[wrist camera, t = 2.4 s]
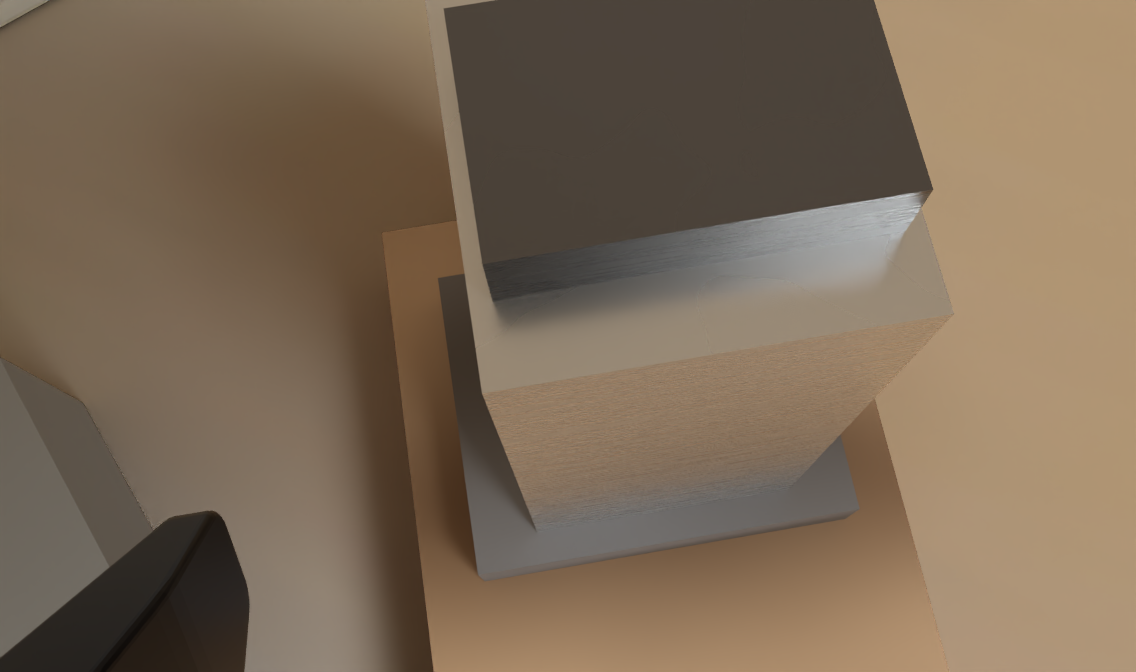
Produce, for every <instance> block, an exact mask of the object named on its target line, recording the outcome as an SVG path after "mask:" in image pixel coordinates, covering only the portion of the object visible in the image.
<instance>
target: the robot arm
mask: <svg viewBox="0 0 1136 672" xmlns="http://www.w3.org/2000/svg"><path fill="white" fill-rule="evenodd" d="M248 621H249V594H248V588H247V584H246V580H245V578H244V575H243V572H242V569H241V566H240V563H239V561H238V558H237V555H236V552H235V549H234V546H233V544H232V541H231V538H230V535H229V532H228V530H227V527H226V524H225V522H224V520H223V519H222V517H221V516H220V515H219V514H218V513H216V512H214V511H203V512H197V513H192V514H186V515H180V516H174V517H171V518H169V519H167V520H166V521H165V522H163V523H162V524H161V525H160V526H159V527H157V528H156V529H155V530H154V531H153V532H151V533H150V534H149V535H148V536H146V537H145V538H144V539H143V540H142V541H140V542H139V543H138V544H137V545H136V546H134V547H133V548H132V549H131V550H130V551H128V552H127V553H126V554H125V555H124V556H122V557H121V558H120V559H119V560H117V561H116V562H115V563H114V564H113V565H111V566H110V567H109V568H108V569H107V570H105V571H104V572H103V573H102V574H101V575H99V576H98V577H97V578H96V579H95V580H93V581H92V582H91V583H90V584H88V585H87V586H86V587H85V588H84V589H82V590H81V591H80V592H79V593H78V594H76V595H75V596H74V597H73V598H72V599H70V600H69V601H68V602H67V603H66V604H64V605H63V606H62V607H61V608H59V609H58V610H57V611H56V612H55V613H53V614H52V615H51V616H50V617H49V618H47V619H46V620H45V621H44V622H43V623H41V624H40V625H39V626H38V627H37V628H35V629H34V630H33V631H32V632H30V633H29V634H28V635H27V636H26V637H24V638H23V639H22V640H21V641H20V642H18V643H17V644H16V645H15V646H14V647H12V648H11V649H10V650H9V651H8V652H6V653H5V654H4V655H3V656H1V657H0V672H244V669H245V657H246V645H247V633H248Z"/></svg>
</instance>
